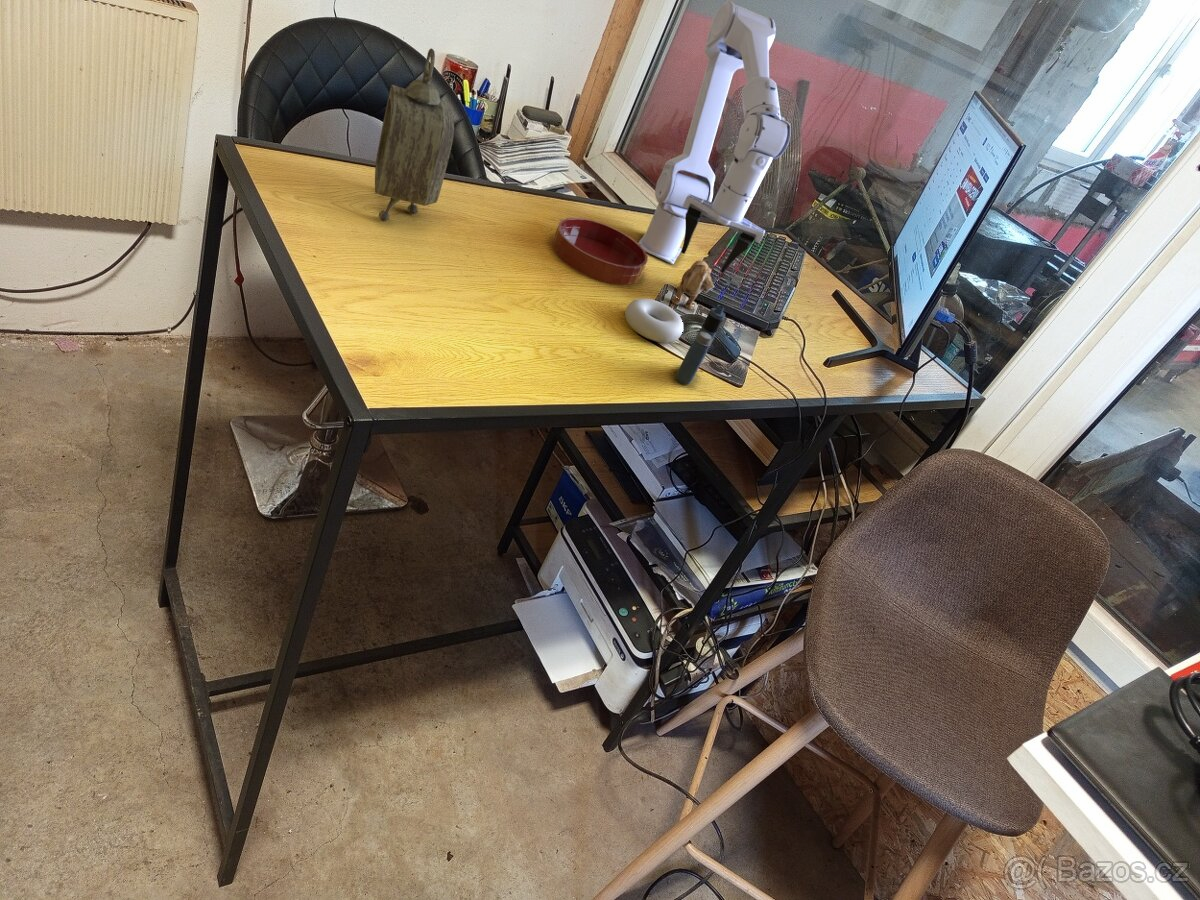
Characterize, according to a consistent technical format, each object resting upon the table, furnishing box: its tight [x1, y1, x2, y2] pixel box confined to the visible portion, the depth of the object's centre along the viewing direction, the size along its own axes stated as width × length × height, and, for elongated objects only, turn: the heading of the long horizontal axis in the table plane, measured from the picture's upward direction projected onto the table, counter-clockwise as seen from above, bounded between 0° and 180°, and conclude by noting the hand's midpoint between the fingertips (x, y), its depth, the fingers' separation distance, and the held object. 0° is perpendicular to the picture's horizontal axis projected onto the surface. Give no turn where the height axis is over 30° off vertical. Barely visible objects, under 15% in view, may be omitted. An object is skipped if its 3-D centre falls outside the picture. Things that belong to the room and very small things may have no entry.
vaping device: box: [675, 304, 726, 386], centre depth 114 cm, size 3×5×12 cm, turn 161°
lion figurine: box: [671, 260, 715, 310], centre depth 138 cm, size 15×5×9 cm, turn 173°
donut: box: [624, 297, 684, 344], centre depth 125 cm, size 10×4×10 cm
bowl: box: [551, 217, 649, 286], centre depth 138 cm, size 17×17×4 cm
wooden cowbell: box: [374, 48, 455, 222], centre depth 118 cm, size 14×9×25 cm, turn 14°
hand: (703, 260), depth 136 cm, fingers open, 7 cm apart
